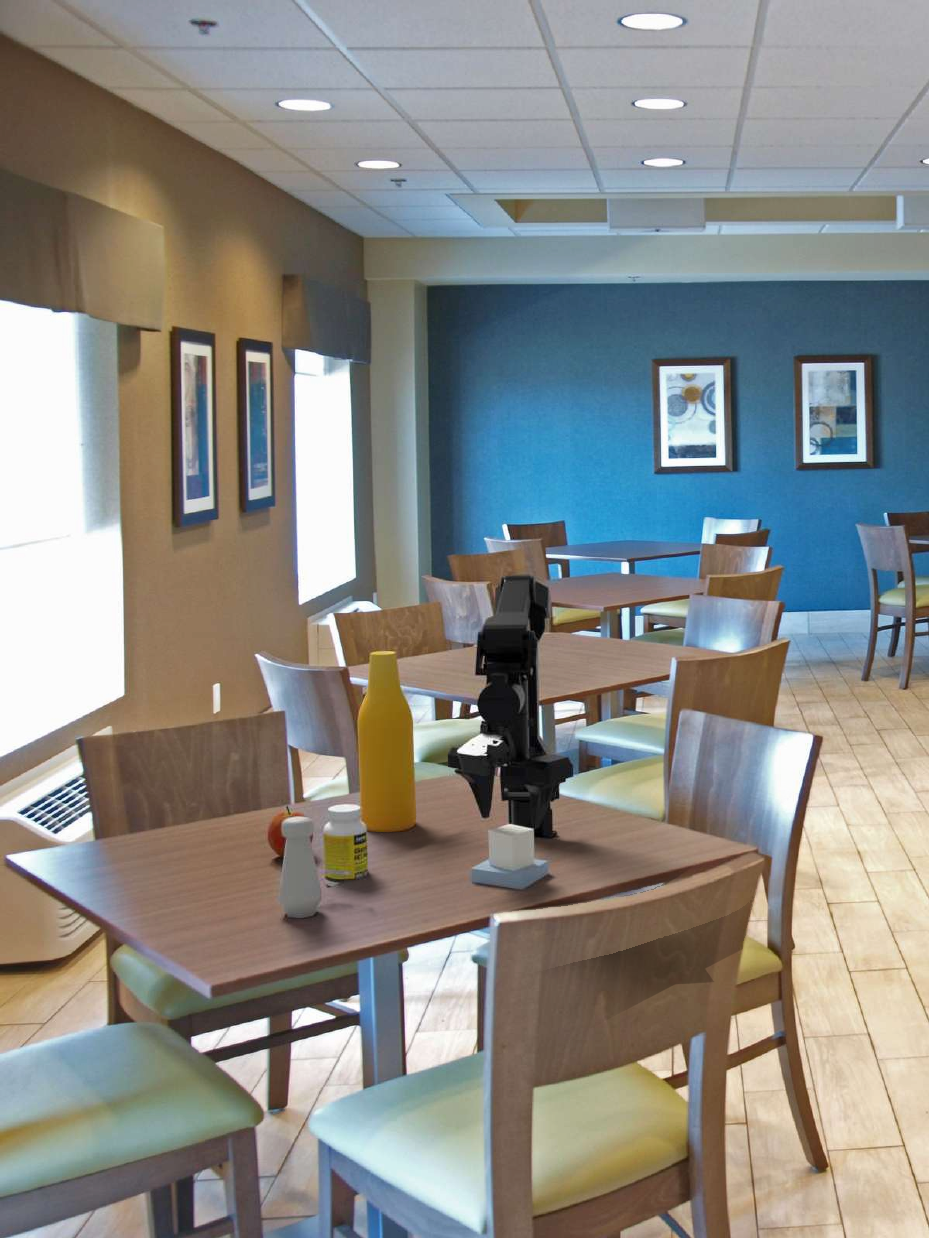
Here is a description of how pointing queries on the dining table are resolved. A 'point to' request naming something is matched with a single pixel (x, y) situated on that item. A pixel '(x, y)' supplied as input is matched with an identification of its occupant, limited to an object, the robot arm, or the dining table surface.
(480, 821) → the dining table surface
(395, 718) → the beer bottle
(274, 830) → the fruit
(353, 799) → the dining table surface
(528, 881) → the slate slab
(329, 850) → the pill bottle
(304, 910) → the salt shaker
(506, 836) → the cream block
